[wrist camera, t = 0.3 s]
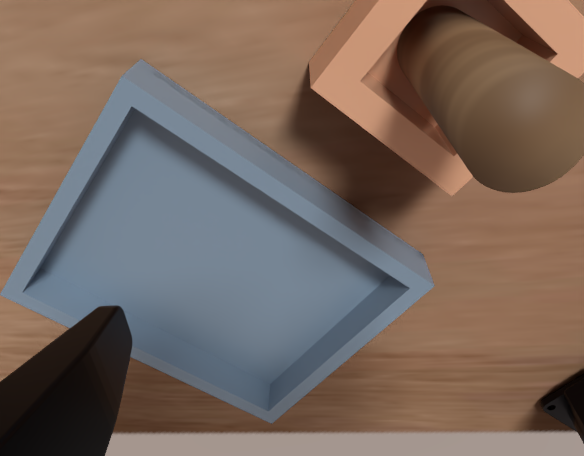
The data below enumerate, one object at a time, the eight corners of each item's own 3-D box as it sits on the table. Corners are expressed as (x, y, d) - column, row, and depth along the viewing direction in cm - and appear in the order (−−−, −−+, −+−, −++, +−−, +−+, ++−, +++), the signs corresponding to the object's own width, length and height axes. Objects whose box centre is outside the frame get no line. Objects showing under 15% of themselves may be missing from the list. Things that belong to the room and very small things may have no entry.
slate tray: (422, 254, 25) (434, 285, 23) (273, 388, 30) (271, 423, 28) (141, 58, 20) (122, 76, 18) (24, 263, 25) (-1, 294, 23)
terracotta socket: (563, 26, 19) (611, 46, 16) (431, 158, 22) (452, 196, 19) (435, -106, 17) (464, -110, 14) (309, 62, 20) (310, 87, 17)
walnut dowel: (492, 39, 19) (624, 123, 11) (435, 101, 20) (518, 213, 12) (436, -13, 18) (540, 40, 10) (381, 55, 19) (435, 147, 11)
